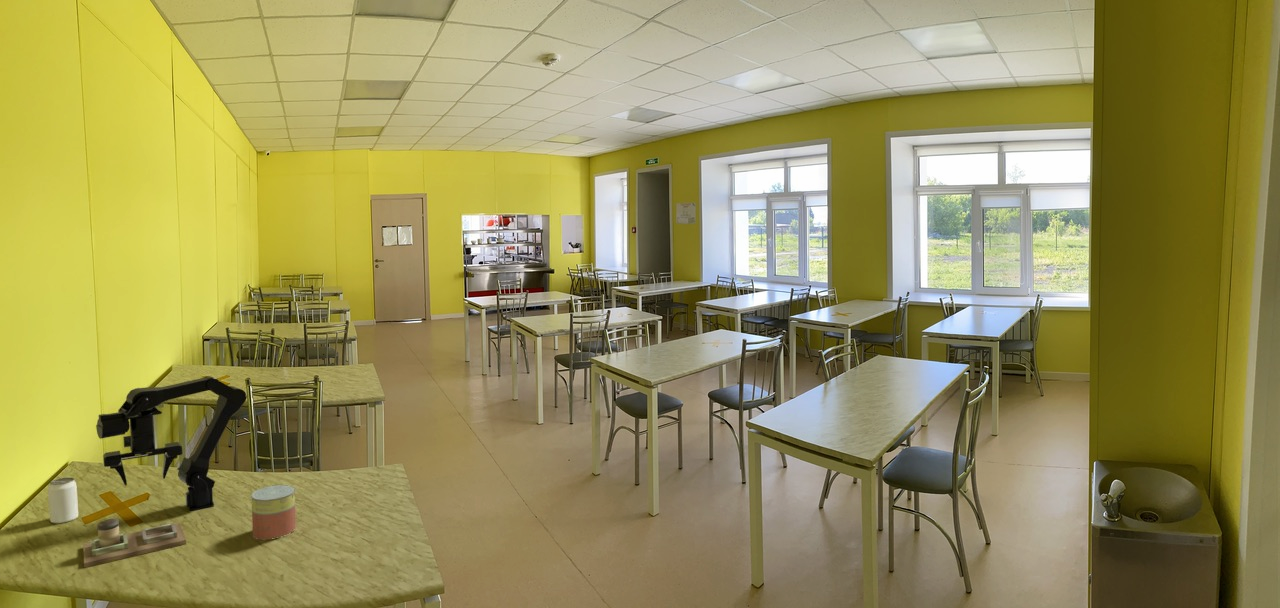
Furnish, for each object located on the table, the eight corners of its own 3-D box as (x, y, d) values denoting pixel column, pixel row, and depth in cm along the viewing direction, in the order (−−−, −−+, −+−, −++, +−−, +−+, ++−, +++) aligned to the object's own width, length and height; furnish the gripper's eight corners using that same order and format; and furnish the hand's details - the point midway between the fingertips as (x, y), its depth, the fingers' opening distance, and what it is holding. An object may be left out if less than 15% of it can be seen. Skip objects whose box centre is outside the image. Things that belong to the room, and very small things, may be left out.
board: (179, 526, 198) (179, 517, 198) (186, 543, 188) (185, 534, 187) (83, 547, 184) (82, 538, 184) (84, 567, 173) (83, 557, 173)
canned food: (304, 528, 199) (303, 489, 198) (269, 543, 189) (268, 502, 188) (279, 520, 204) (277, 482, 203) (243, 535, 194) (242, 495, 193)
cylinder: (119, 541, 185) (117, 517, 184) (121, 547, 182) (119, 523, 181) (99, 546, 182) (96, 521, 181) (99, 552, 179) (97, 527, 178)
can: (62, 525, 197) (59, 485, 196) (44, 522, 198) (41, 483, 197) (84, 516, 203) (81, 478, 202) (67, 513, 205) (64, 476, 204)
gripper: (176, 419, 211) (179, 467, 213) (101, 429, 199) (104, 480, 201) (181, 428, 203) (183, 477, 204) (102, 439, 191) (105, 492, 192)
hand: (145, 481), depth 201 cm, fingers open, 9 cm apart
